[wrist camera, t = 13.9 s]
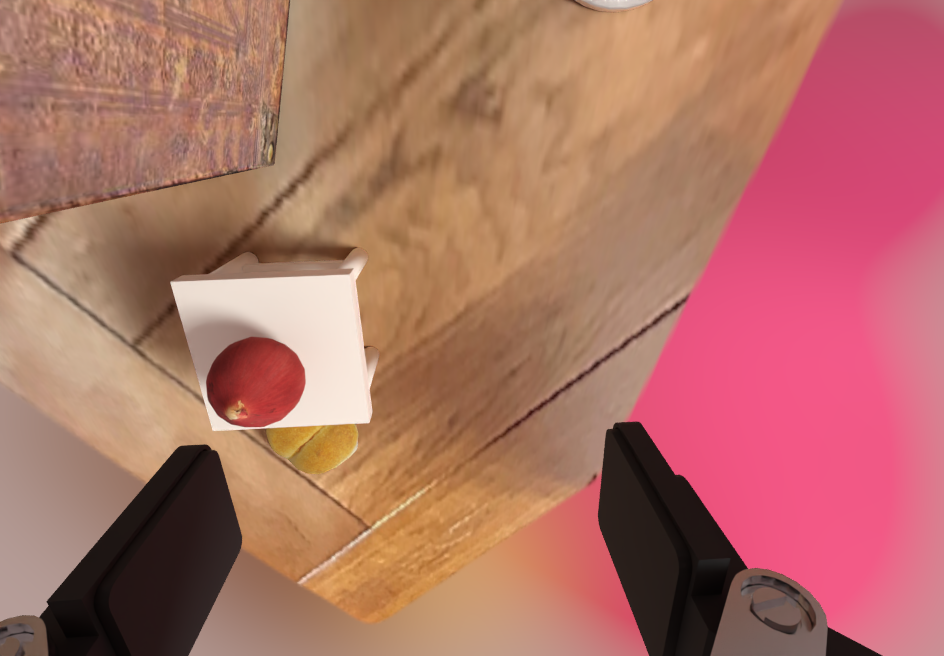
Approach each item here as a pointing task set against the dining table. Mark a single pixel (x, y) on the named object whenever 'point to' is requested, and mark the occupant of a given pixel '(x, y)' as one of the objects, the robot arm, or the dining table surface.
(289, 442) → the bread roll
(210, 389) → the onion
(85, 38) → the book
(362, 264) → the stool
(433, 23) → the dining table surface
